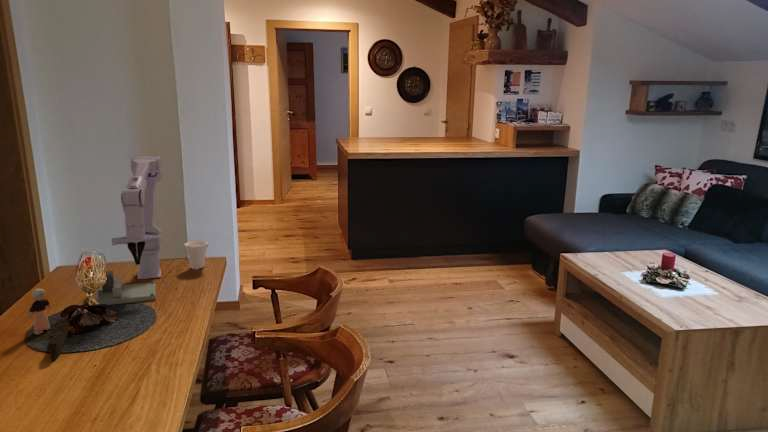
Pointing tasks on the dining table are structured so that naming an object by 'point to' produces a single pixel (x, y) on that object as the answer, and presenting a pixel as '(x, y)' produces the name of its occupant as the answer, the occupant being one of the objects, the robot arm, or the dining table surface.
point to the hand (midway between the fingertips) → (137, 263)
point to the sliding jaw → (117, 287)
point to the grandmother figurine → (39, 311)
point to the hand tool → (58, 339)
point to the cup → (196, 253)
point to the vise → (128, 294)
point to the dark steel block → (108, 282)
